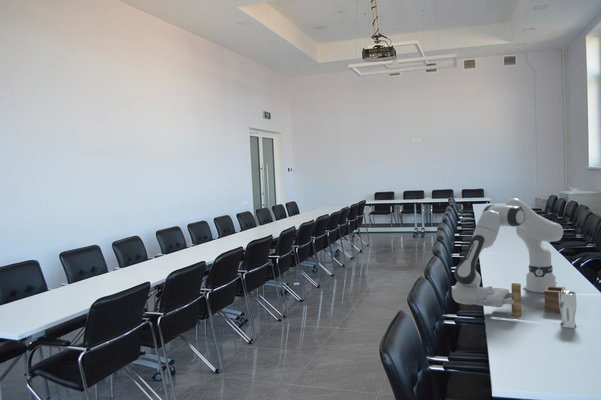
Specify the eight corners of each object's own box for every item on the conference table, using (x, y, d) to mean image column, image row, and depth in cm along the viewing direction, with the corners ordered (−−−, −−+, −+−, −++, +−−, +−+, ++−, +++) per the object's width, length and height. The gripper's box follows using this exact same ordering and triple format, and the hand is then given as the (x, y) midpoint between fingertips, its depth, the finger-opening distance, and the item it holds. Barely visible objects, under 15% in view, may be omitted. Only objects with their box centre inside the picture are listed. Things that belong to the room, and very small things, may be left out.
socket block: (547, 305, 243) (546, 286, 242) (565, 307, 239) (565, 287, 238) (545, 311, 235) (544, 291, 234) (563, 313, 230) (563, 292, 230)
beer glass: (575, 323, 219) (573, 290, 218) (579, 328, 212) (578, 294, 211) (557, 323, 221) (556, 290, 220) (561, 328, 214) (560, 294, 213)
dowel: (512, 315, 235) (512, 282, 234) (521, 316, 233) (521, 283, 232) (511, 318, 232) (510, 284, 231) (520, 319, 230) (520, 285, 229)
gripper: (480, 295, 231) (511, 298, 223) (489, 285, 248) (519, 287, 240) (480, 308, 231) (512, 311, 223) (490, 297, 248) (520, 300, 241)
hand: (516, 299), depth 232 cm, fingers open, 8 cm apart
